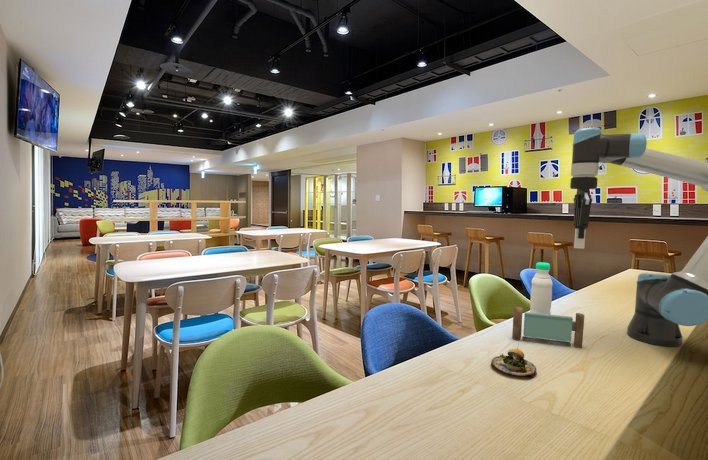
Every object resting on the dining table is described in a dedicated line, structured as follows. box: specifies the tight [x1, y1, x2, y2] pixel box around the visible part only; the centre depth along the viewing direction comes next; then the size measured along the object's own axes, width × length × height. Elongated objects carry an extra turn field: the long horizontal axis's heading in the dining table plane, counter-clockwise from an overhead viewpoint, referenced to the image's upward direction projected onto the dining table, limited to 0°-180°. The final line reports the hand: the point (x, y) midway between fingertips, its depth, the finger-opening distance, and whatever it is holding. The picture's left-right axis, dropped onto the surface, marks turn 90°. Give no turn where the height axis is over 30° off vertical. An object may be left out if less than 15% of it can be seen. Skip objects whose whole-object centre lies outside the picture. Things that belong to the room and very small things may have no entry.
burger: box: [490, 343, 537, 379], centre depth 105 cm, size 12×12×8 cm
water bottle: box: [529, 261, 554, 315], centre depth 137 cm, size 7×7×25 cm
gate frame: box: [511, 306, 585, 349], centre depth 125 cm, size 21×4×11 cm, turn 71°
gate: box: [522, 311, 574, 343], centre depth 124 cm, size 14×2×8 cm, turn 72°
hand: (579, 248), depth 123 cm, fingers closed
